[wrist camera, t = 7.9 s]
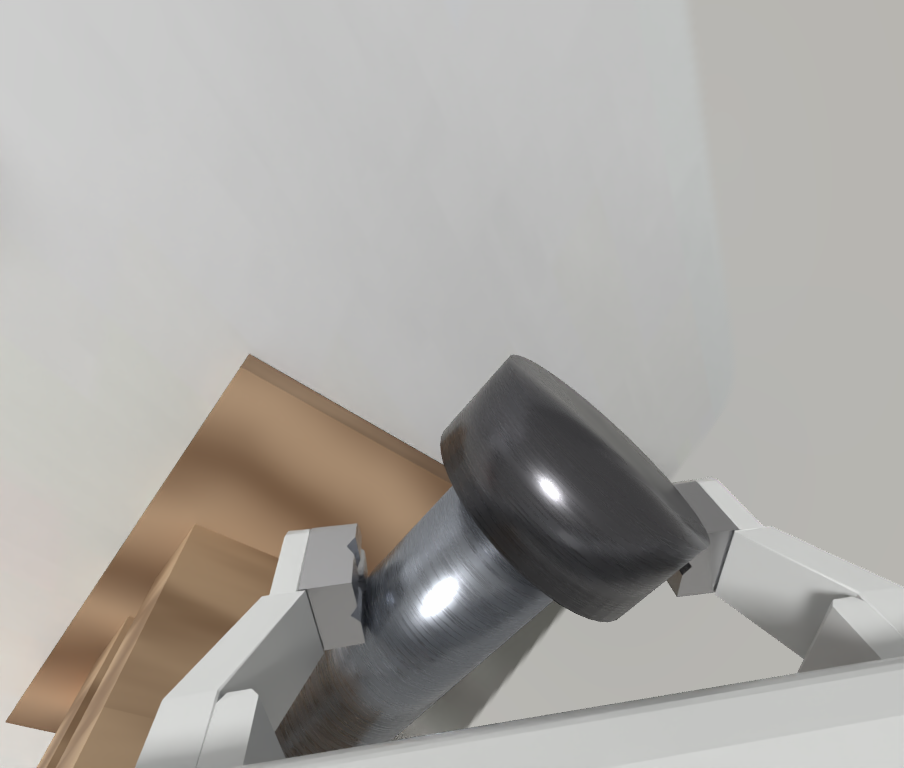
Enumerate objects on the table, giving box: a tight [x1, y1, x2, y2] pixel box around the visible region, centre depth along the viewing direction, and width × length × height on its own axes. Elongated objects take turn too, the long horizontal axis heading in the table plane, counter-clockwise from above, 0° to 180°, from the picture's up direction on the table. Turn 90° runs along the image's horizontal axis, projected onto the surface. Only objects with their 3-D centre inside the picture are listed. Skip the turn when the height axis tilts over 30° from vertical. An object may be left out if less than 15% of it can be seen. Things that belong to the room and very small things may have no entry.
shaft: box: [275, 355, 710, 758], centre depth 13 cm, size 26×5×5 cm, turn 141°
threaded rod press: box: [6, 354, 452, 768], centre depth 18 cm, size 26×12×15 cm, turn 141°
